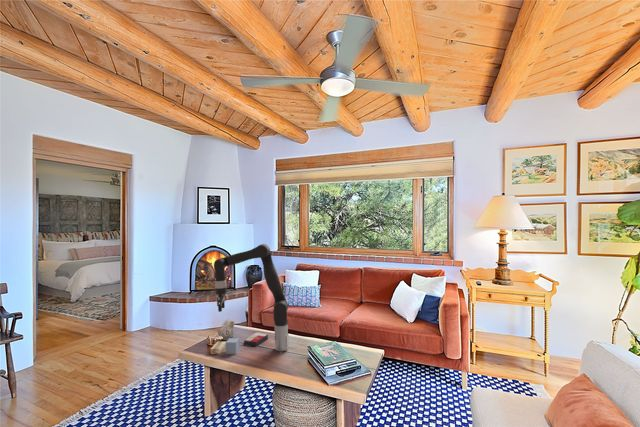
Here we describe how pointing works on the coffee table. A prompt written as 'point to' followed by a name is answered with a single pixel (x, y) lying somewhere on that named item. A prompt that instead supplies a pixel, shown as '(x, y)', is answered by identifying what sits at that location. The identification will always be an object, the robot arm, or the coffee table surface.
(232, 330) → the fossil
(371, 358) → the coffee table surface
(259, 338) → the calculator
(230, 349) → the block
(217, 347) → the tan lumpy piece
